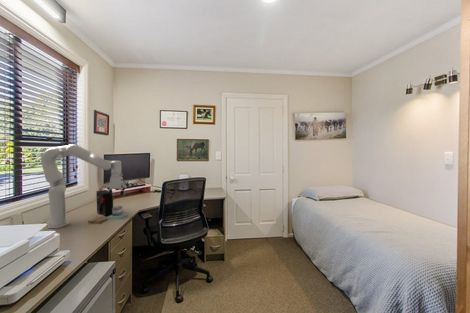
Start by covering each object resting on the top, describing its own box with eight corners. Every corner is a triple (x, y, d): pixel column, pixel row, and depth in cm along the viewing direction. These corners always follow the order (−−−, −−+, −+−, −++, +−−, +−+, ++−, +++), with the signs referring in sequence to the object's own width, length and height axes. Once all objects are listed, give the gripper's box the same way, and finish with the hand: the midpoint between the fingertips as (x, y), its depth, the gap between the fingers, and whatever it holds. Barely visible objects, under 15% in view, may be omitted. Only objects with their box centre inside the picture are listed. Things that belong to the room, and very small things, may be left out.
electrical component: (115, 214, 205) (114, 192, 204) (102, 217, 197) (102, 194, 196) (108, 210, 217) (107, 189, 216) (96, 213, 209) (95, 191, 208)
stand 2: (108, 219, 192) (108, 216, 192) (115, 215, 202) (115, 213, 202) (120, 219, 192) (120, 216, 192) (126, 215, 202) (126, 213, 202)
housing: (116, 213, 201) (116, 205, 200) (122, 213, 200) (122, 205, 200) (112, 216, 194) (111, 207, 193) (117, 216, 193) (117, 207, 193)
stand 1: (87, 223, 182) (87, 220, 182) (96, 219, 192) (96, 216, 192) (100, 223, 181) (100, 220, 181) (107, 219, 191) (107, 217, 191)
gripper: (128, 174, 199) (128, 194, 199) (109, 174, 200) (109, 194, 200) (124, 176, 191) (123, 196, 192) (103, 175, 192) (103, 195, 193)
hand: (116, 195), depth 196 cm, fingers open, 9 cm apart
